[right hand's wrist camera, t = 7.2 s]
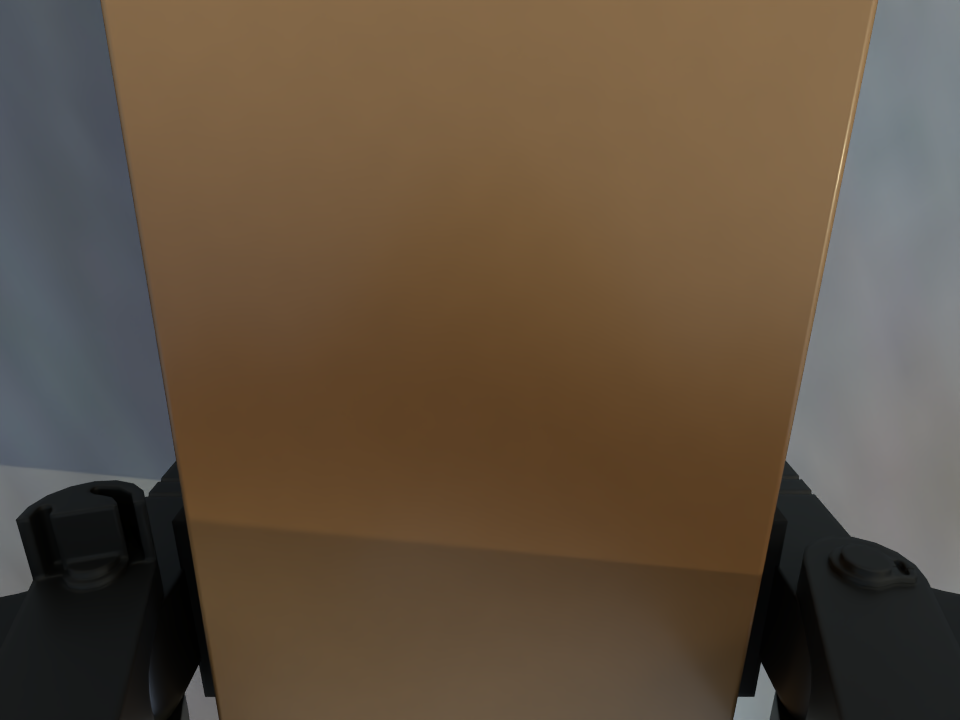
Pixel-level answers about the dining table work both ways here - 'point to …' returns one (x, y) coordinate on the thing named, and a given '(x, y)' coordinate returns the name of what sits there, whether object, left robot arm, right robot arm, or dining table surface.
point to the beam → (483, 335)
